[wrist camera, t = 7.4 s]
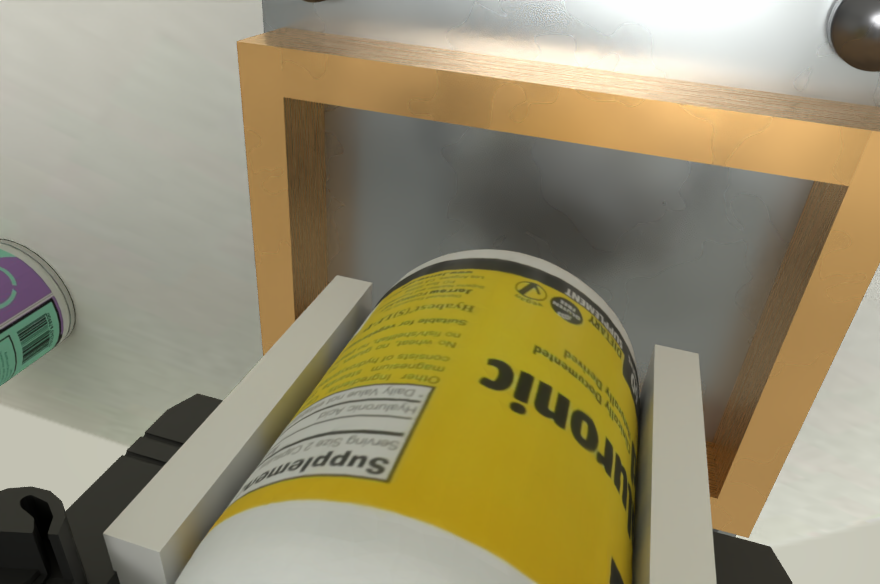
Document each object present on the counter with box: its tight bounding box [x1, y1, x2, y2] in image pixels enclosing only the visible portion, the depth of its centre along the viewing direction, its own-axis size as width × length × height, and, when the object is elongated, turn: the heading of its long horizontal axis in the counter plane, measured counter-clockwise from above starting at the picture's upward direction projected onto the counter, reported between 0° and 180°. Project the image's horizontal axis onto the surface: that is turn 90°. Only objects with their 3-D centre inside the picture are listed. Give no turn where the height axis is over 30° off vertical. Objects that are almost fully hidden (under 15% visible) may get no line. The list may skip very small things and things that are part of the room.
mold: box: [237, 0, 880, 538], centre depth 18 cm, size 14×16×7 cm
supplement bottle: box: [175, 249, 640, 584], centre depth 9 cm, size 5×5×10 cm
